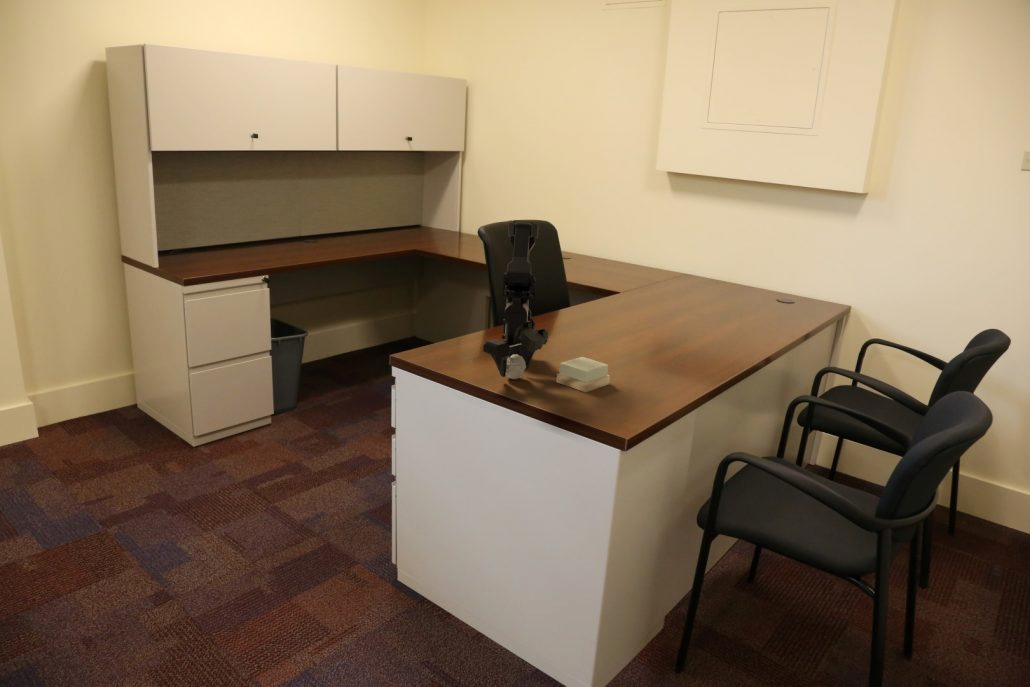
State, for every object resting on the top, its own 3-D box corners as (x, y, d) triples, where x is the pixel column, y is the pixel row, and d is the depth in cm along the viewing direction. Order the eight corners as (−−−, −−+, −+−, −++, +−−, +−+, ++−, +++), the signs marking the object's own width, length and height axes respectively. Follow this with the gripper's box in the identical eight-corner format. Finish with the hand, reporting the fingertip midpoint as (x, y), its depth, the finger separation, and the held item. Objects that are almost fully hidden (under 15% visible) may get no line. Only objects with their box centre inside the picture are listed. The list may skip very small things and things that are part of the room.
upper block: (559, 373, 190) (560, 362, 190) (581, 367, 197) (582, 356, 196) (585, 382, 184) (586, 371, 184) (607, 375, 191) (608, 364, 190)
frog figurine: (506, 384, 188) (507, 358, 186) (499, 375, 194) (500, 350, 192) (528, 382, 190) (530, 357, 188) (521, 374, 196) (522, 349, 194)
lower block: (556, 384, 191) (557, 373, 190) (579, 376, 198) (580, 365, 197) (585, 394, 185) (586, 383, 184) (609, 385, 192) (610, 375, 191)
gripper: (514, 329, 175) (511, 389, 180) (563, 317, 188) (559, 374, 193) (482, 319, 183) (480, 377, 187) (532, 309, 196) (529, 363, 200)
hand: (514, 373), depth 192 cm, fingers open, 8 cm apart
